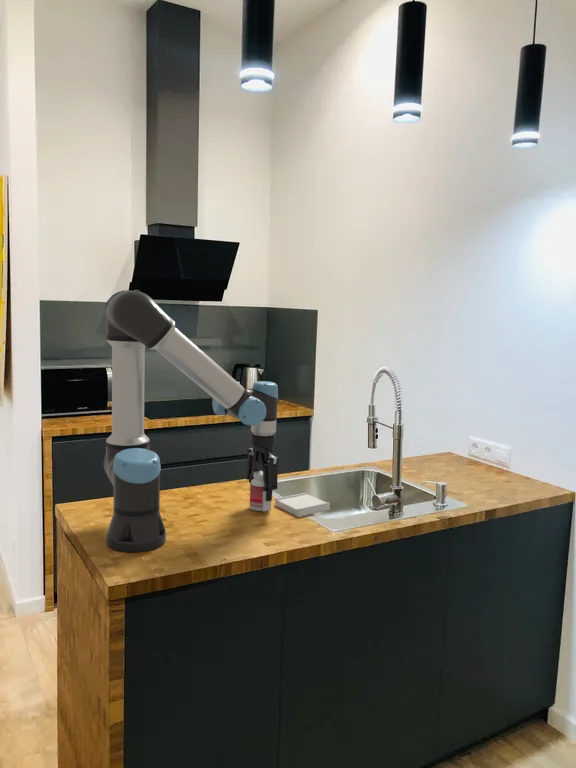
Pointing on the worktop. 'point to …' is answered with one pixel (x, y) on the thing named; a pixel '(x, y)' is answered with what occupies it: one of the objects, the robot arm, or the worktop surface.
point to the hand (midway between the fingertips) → (260, 507)
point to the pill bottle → (257, 491)
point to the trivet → (302, 504)
